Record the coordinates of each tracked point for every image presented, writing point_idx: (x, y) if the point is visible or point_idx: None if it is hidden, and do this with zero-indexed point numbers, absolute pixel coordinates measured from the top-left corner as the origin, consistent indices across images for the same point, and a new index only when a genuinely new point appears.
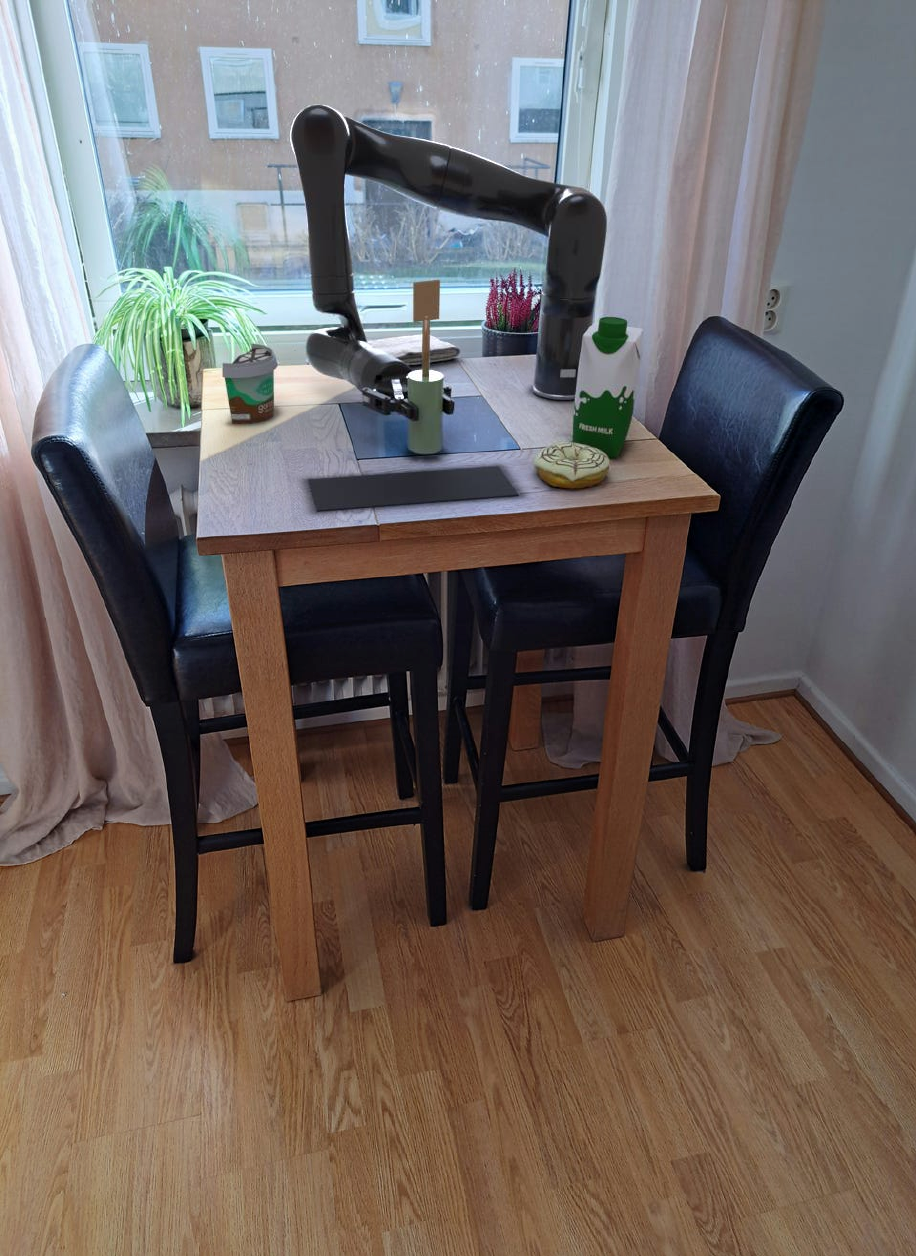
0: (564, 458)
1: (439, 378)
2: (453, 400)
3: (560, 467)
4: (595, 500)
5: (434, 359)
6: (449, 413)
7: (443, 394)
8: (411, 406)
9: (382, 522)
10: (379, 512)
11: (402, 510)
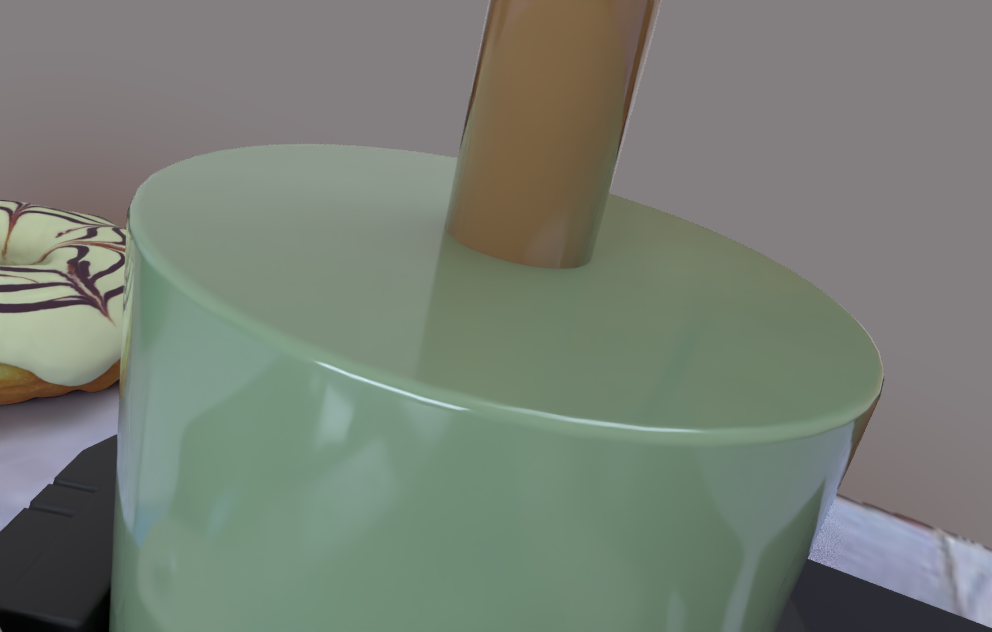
0: (82, 244)
1: (403, 155)
2: (100, 447)
3: None
4: None
5: None
6: None
7: (61, 536)
8: None
9: (923, 532)
10: (932, 583)
11: (827, 545)
